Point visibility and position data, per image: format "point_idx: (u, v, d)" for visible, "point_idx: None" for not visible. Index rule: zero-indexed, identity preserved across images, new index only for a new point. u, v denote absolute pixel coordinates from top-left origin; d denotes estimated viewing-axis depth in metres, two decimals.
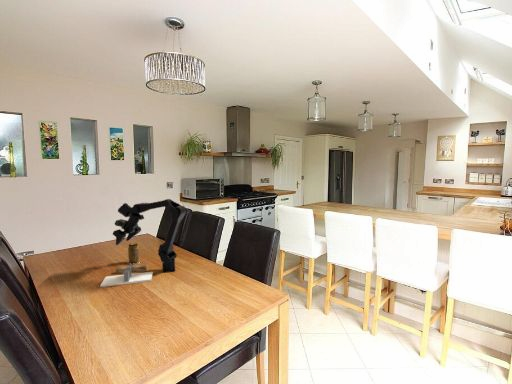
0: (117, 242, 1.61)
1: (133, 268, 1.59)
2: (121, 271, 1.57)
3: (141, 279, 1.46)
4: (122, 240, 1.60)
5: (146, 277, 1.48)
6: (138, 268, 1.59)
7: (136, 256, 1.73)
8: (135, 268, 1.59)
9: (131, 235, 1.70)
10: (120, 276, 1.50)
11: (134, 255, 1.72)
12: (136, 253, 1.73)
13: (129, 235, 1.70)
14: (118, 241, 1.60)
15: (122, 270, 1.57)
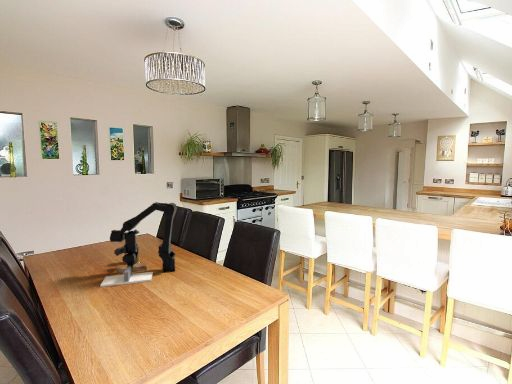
0: None
1: (133, 268, 1.59)
2: (121, 271, 1.56)
3: (141, 279, 1.46)
4: (134, 261, 1.55)
5: (146, 277, 1.48)
6: (138, 268, 1.60)
7: None
8: (135, 268, 1.59)
9: (134, 257, 1.64)
10: (120, 276, 1.50)
11: None
12: None
13: None
14: (131, 265, 1.54)
15: (122, 270, 1.56)
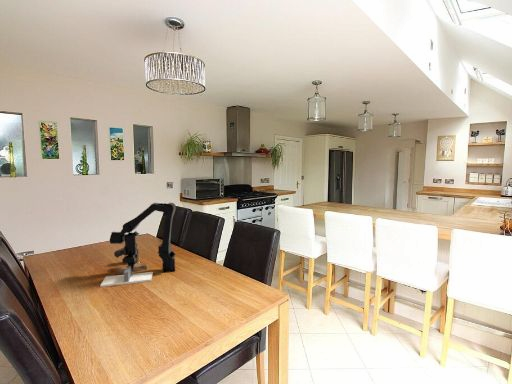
0: (131, 267, 1.57)
1: (133, 268, 1.59)
2: (121, 271, 1.56)
3: (141, 279, 1.46)
4: None
5: (146, 277, 1.48)
6: (138, 267, 1.60)
7: None
8: (135, 268, 1.59)
9: None
10: (120, 276, 1.50)
11: None
12: (136, 253, 1.73)
13: None
14: (132, 265, 1.57)
15: (122, 270, 1.56)
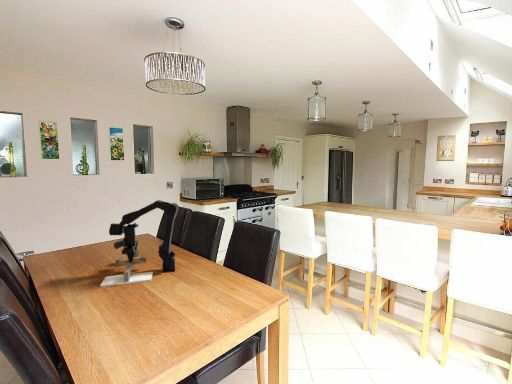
0: (130, 259, 1.57)
1: (133, 260, 1.58)
2: (121, 263, 1.56)
3: (141, 279, 1.46)
4: (134, 253, 1.57)
5: (146, 277, 1.48)
6: (138, 259, 1.59)
7: (136, 256, 1.73)
8: (135, 260, 1.59)
9: None
10: (120, 276, 1.50)
11: (134, 255, 1.72)
12: (136, 253, 1.73)
13: None
14: (131, 257, 1.56)
15: (122, 262, 1.56)
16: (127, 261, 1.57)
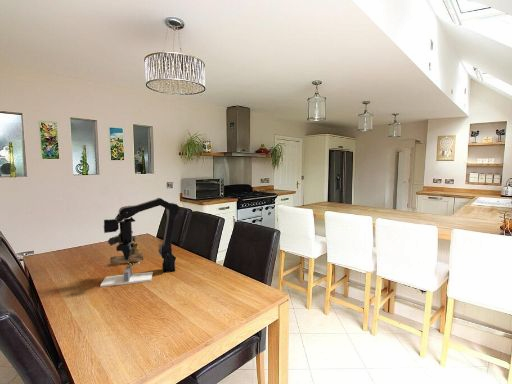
0: (126, 256, 1.46)
1: (129, 257, 1.47)
2: (116, 260, 1.45)
3: (141, 279, 1.46)
4: (130, 250, 1.46)
5: (146, 277, 1.48)
6: (134, 257, 1.48)
7: None
8: (131, 257, 1.48)
9: None
10: (120, 276, 1.50)
11: None
12: (136, 253, 1.73)
13: None
14: (127, 254, 1.46)
15: (117, 259, 1.45)
16: (122, 258, 1.46)
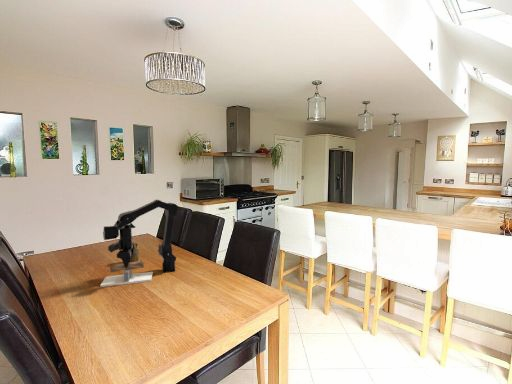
0: (126, 264, 1.43)
1: (129, 265, 1.46)
2: (116, 268, 1.44)
3: (141, 279, 1.46)
4: (130, 258, 1.43)
5: (146, 277, 1.48)
6: (134, 265, 1.47)
7: (136, 256, 1.73)
8: (131, 265, 1.47)
9: None
10: (120, 276, 1.50)
11: (134, 255, 1.72)
12: (136, 253, 1.73)
13: None
14: (127, 262, 1.42)
15: (117, 267, 1.44)
16: (123, 266, 1.45)
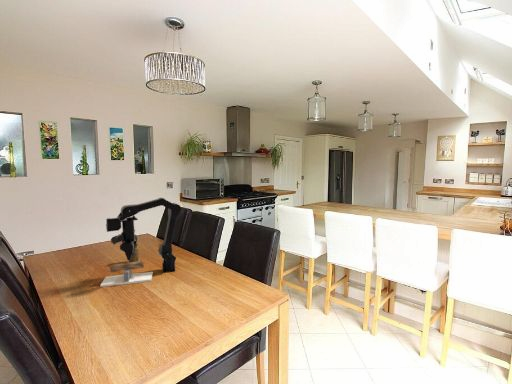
0: (128, 256, 1.43)
1: (129, 265, 1.46)
2: (116, 268, 1.44)
3: (141, 279, 1.46)
4: (133, 250, 1.44)
5: (146, 277, 1.48)
6: (134, 265, 1.47)
7: (136, 256, 1.73)
8: (131, 265, 1.47)
9: None
10: (120, 276, 1.50)
11: (134, 255, 1.72)
12: (136, 253, 1.73)
13: None
14: (130, 254, 1.43)
15: (117, 267, 1.44)
16: (123, 266, 1.45)
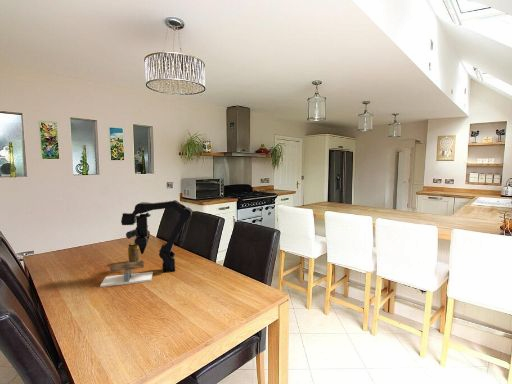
0: (142, 250, 1.53)
1: (129, 265, 1.46)
2: (116, 268, 1.44)
3: (141, 279, 1.46)
4: (146, 244, 1.53)
5: (146, 277, 1.48)
6: (134, 265, 1.47)
7: (136, 256, 1.73)
8: (131, 265, 1.47)
9: None
10: (120, 276, 1.50)
11: (134, 255, 1.72)
12: (136, 253, 1.73)
13: None
14: (143, 248, 1.53)
15: (117, 267, 1.44)
16: (123, 266, 1.45)
